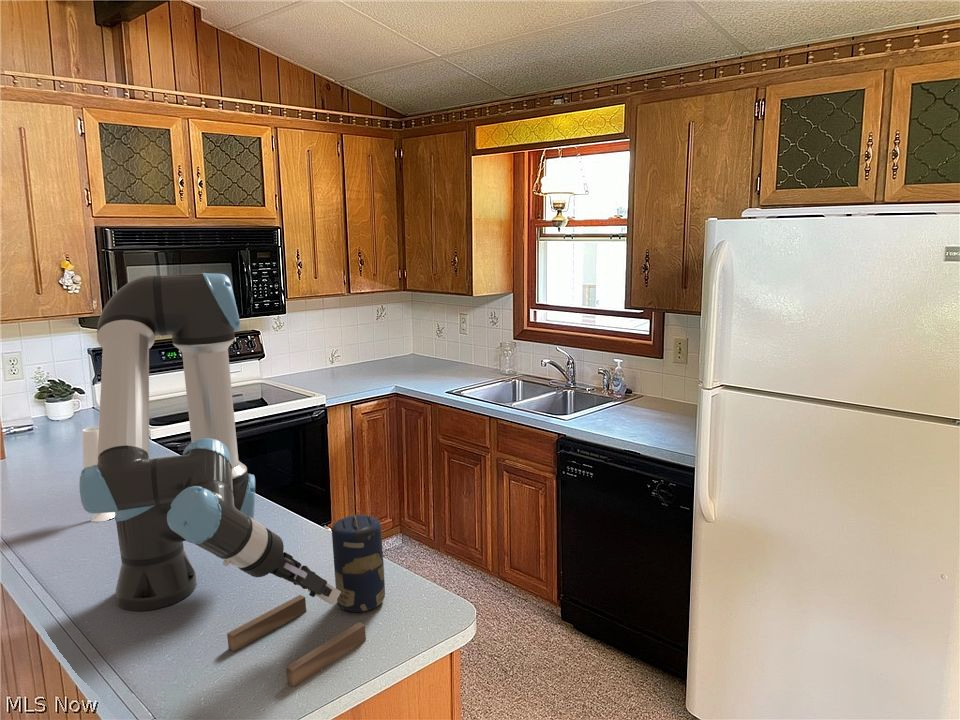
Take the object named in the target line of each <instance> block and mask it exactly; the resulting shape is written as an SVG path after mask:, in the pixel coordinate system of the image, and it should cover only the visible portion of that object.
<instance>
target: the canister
mask: <svg viewBox="0 0 960 720" xmlns="http://www.w3.org/2000/svg"><path fill="white" fill-rule="evenodd" d="M382 535H383V534H382V525H381V522H380V521H379V519H377V518H376V517H375V516H371V515H367V514H354V515H348V516H346V517H343V518H340V519H338V520H337V521H336V522H335V523H334V524H333V525H332V527H331V541H332V554H333V566H334V581H335V582H334V583H335V588H336V589H338V590H339V591H341V593H340V595H339V597H338V599H337V601H336V603H337V604H338V606H339V607H340V608H341V609H343V610H345V611H347V612H354V613H359V612H366V611H369V610H370V611H371V610H372V609H375V608H376V607H378V606H379V605H381V604H382V603H383V602H384V600H385V596H386V587H385V586H386V584H385V583H386V580H385V562H384V553H383V537H382Z"/></svg>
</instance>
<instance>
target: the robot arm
mask: <svg viewBox="0 0 960 720" xmlns="http://www.w3.org/2000/svg"><path fill="white" fill-rule="evenodd" d="M236 303H237V302H236V298H235V294H234V290H233V285H232V282H231V280H230V278H229V276H228V275H226V274H224V273H212V272H211V273H210V272H209V273H206V272H202V273H201V272H200V273H185V274H168V275H167V274H166V275H146V276H142V277H141V276H140V277H137V278H135V279H133V280H131V281H129V282H128V283H126V284H124V285H122V287H121V288H119V289H118V290H117V291H115V293H114V294H113V295H112V296H111V297H110V298H109V300H108V302H107V303H106V304H105V306H104V307H103V309H102V312H101V314H100V317H99V319H98V321H97V328H96V329H97V330H96V341H97V344H99V346H100V347H101V348H102V354H101V355H102V356H101V376H100V377H101V379H100V395H99V396H100V397H99V398H100V399H99V401H100V402H99V415H98V416H99V417H98V418H99V419H98V426H99V437H98V463H97V465H93V466H90V467H86V468H84V467H83V469H82V470H81V472H80V476H79V483H78V485H79V496H80V503H81V505H82V507H83V509H84V510H85V512H87V513H89V514H98V513H109V512H115V519H114V520H115V522H116V523H115V525H116V529H117V536H118V537H117V538H118V539H117V540H118V546H119V553H120V560H121V561H120V562H121V565H120V569H119V574H118V578H117V582H116V587H115V598H116V603H117V605H118V606H119V607H120V608H122V609H124V610H128V611H136V612H139V611H142V612H143V611H150V610H151V611H152V610H157V609H161V608H165V607H167V606H171V605H174V604H175V603H178V602H180V601H182V600H184V599H185V598H187V597H189V595H191V594H192V593H193V592H194V591H195V589H196V587H197V584H198V583H197V574H196V571H195V569H194V567H193V565H192V563H191V562H190V561H191V560H190V559H189V558H188V555H187V553H186V551H185V548H184V542H188V543H190V544H193V545H196V546H197V547H200V548H201V549H203V550H205V551H206V552H209V553H211V554H212V555H214V556H216V557H217V558H220V559H221V560H223V562H222V565H223V566H225V567H227V566H229V565H230V564H231V565H232V566H234V567H236V568H238V569H239V570H240V571H242V572H244V573H246V574H247V575H249V576H251V577H253V578H262V577H265V576H267V575H269V574H270V575H271V574H272V575H274V576H275V577H276V578H280V579H281V578H282V579H284V580H286V581H287V582H290V583H292V584H293V585H295V586H299V587H301V589H303V590H307V592H309V594H308V596H311V597H312V598H315V597H318V598H320V600H323V601H324V602H326V603H328V604H329V605H332V606H335V604H336V603H337V599H338V597H339V595H340V593H341V591H339V590H338V589H336V587H335V586H332V584H329V583H328V581H327V580H326V579H325V578H322V577H321V576H319V575H318V574H316V572H315V571H312V570H311V569H310V568H309V567H308V566H307V565H302V563H301V562H299V561H298V560H296V559H294V558H293V556H292V555H291V554H290V553H287V552H285V551H284V549H285V548H284V547H285V546H284V542H283V539H282V538H281V537H280V536H279V535H278V534H277V533H275V532H273V531H272V530H270V529H269V528H266V527H265V526H264V525H263V524H261V523H260V522H258V521H257V520H255V519H254V517H255V506H256V477H255V475H254V474H251V473H248V467H247V466H246V465H245V464H244V463H242V462H241V461H240V460H239V453H238V442H237V441H238V440H237V434H236V433H237V432H236V422H235V410H234V401H233V399H234V398H233V390H232V389H233V388H232V380H231V368H230V367H231V366H230V356H229V348H230V346H231V345H232V344H233V342H235V340H236V339H235V338H236V337H235V332H239V331H240V330H241V329H242V325H241V321H240V316H239V312H238V306H237V304H236ZM156 336H160V337H161V336H162V337H163V336H171V337H172V338H171V339H172V340H171V341H172V345H173V346H174V347H175V348H177V349H178V350H179V351H180V352H181V353H182V362H183V363H182V364H183V374H184V382H185V383H184V384H185V391H186V400H187V402H186V403H187V410H188V418H189V419H188V421H189V432H190V438H191V442H190V443H189V444H188V445H187V446H186V447H185V448H184V449H183V452H182V454H181V455H175V456H174V455H173V456H166V457H156V458H150V349H151V348H152V346H153V345H154V344H155V342H156V341H155V340H156Z"/></svg>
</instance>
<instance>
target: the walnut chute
mask: <svg viewBox="0 0 960 720" xmlns="http://www.w3.org/2000/svg"><path fill="white" fill-rule="evenodd" d="M306 602H307V601H306V596H304V595H302V594H298V595H297V596H295V597H293V598H291V599H289V600H287V601H285V602H283V603H282V604H279V605H277V606H276V607H273V608H272V609H270V610H268V611H267V612H265V613H263V614H261V615H258V616H257V617H255V618H253V619H251V620H249V621H247V622H246V623H244V624H242V625H240V626H238V627H236V628H234V629H233V630H231V631H228V632H226V636H227V646H228V649H229V650H231V651H232V652H236V651H239V650H240V649H241V648H244V647H245V646H247V645H249V644H251V643H252V642H254V641H256V640H258V639H260V638H261V637H264V636H265V635H266V634H268V633H270V632H272V631H273V630H275V629H277V628H279V627H281V626H283V625H284V624H287V623H288V622H290V621H291V620H293V619H296V618H298V617H299V616H301V615H302V614H304V613H306V612H307V605H306V604H307V603H306ZM366 641H367V636H366V625H365V624H364V623H362V622H360V621H358V622H357V623H355V624H353V625H352V626H350V627H349V628H347V629H345V630H343V631H342V632H340V633H339V634H337V635H336V636H334V637H332V638H331V639H329V640H327V641H326V642H324V643H323V644H321V645H319V646H318V647H316V648H315V649H312V650H311V651H310V652H308V653H307V654H305V655H303V656H302V657H300V658H298V659H296V660H295V661H294V662H291V663H290V664H289V665H287V666H286V667H285V672H286V683H287V684H288V685H289V686H291V687H292V688H295V687H296V686H298V685H299V684H301V683H302V682H304V681H305V680H307V679H308V678H310V677H312V676H313V675H315V674H316V673H318V672H319V671H321V670H322V669H324V668H325V667H327V666H329V665H330V664H332V663H333V662H335V661H336V660H338V659H339V658H341V657H342V656H344V655H346V654H347V653H348V652H350V651H352V650H353V649H355V648H356V647H358V646H359V645H361V644H362V643H364V642H366Z"/></svg>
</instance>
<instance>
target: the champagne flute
mask: <svg viewBox="0 0 960 720" xmlns="http://www.w3.org/2000/svg"><path fill="white" fill-rule="evenodd" d="M98 437H99V425H96V426H89V427H86V428H83V429H82V456H83V457H82V461H83V469H84V468H86V467H90V466H93V465H97V463H98ZM114 517H115V512H109V513H95V515H94V516H93V517H91V518H92V521H106V520H109V519H112V518H114ZM92 521H91V522H92ZM106 522H107V521H106Z"/></svg>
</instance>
